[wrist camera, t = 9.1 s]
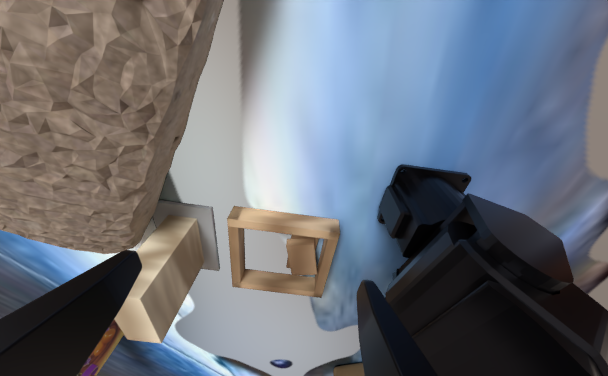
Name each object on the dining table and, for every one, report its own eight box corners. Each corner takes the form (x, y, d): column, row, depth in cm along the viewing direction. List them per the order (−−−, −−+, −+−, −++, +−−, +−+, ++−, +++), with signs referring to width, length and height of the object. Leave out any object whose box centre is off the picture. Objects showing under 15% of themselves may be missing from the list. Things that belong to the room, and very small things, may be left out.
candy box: (80, 303, 35) (-57, 451, 22) (108, 306, 35) (-13, 455, 22) (101, 330, 40) (-1, 465, 27) (126, 333, 40) (35, 469, 27)
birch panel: (196, 218, 24) (140, 298, 16) (204, 261, 28) (161, 343, 20) (168, 214, 24) (98, 294, 16) (180, 258, 27) (127, 339, 20)
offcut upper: (313, 237, 25) (313, 244, 24) (316, 267, 27) (316, 274, 26) (287, 239, 25) (286, 245, 24) (292, 268, 28) (292, 275, 27)
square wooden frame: (338, 219, 23) (340, 233, 22) (321, 283, 29) (321, 297, 28) (233, 206, 23) (227, 218, 21) (237, 272, 29) (232, 286, 27)
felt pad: (212, 206, 23) (211, 209, 23) (220, 268, 29) (218, 270, 28) (150, 198, 23) (147, 201, 23) (169, 261, 29) (167, 264, 28)
